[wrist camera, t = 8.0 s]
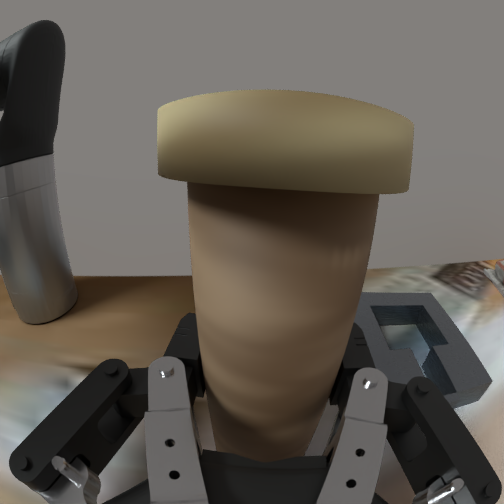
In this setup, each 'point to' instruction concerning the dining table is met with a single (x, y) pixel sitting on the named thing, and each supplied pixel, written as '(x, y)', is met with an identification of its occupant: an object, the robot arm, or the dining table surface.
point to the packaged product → (497, 276)
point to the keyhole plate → (436, 336)
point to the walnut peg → (278, 247)
